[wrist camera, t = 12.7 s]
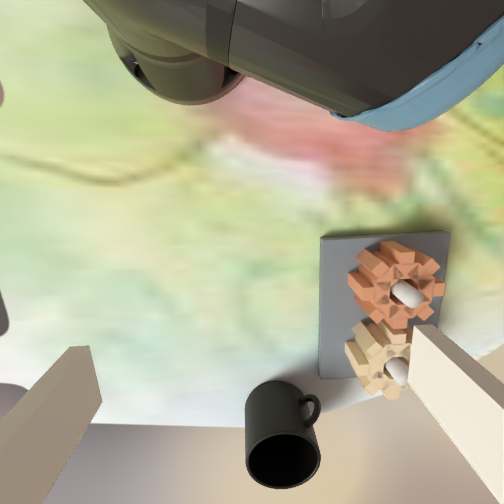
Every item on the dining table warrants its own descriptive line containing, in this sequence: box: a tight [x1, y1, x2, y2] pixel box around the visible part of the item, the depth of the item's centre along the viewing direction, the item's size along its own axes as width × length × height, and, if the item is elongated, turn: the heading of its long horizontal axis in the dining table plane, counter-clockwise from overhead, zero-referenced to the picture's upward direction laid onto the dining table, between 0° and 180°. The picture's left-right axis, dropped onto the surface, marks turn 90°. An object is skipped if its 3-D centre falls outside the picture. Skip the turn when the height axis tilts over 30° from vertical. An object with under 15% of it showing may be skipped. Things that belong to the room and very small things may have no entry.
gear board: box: [318, 231, 450, 400], centre depth 37 cm, size 21×16×8 cm
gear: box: [347, 241, 446, 329], centre depth 36 cm, size 9×9×5 cm
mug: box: [245, 381, 321, 489], centre depth 41 cm, size 9×12×9 cm
